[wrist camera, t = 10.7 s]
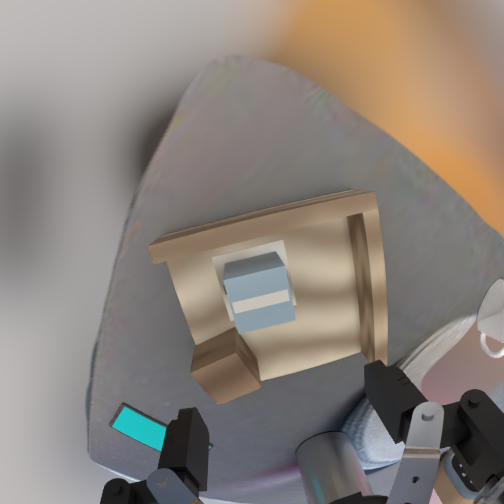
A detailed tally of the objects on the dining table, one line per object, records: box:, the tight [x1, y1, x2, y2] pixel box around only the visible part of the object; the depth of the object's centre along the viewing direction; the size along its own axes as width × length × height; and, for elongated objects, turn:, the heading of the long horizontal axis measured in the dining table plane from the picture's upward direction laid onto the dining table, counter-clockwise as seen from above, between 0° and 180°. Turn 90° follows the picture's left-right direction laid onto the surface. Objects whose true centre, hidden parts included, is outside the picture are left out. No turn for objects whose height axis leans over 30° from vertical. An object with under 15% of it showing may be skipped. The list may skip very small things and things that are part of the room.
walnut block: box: [190, 327, 262, 405], centre depth 27 cm, size 5×5×5 cm
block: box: [223, 251, 296, 334], centre depth 25 cm, size 5×5×5 cm
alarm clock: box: [434, 449, 478, 504], centre depth 35 cm, size 21×10×22 cm, turn 91°
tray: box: [147, 190, 388, 381], centre depth 27 cm, size 19×20×5 cm
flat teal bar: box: [109, 403, 213, 452], centre depth 34 cm, size 7×1×15 cm
